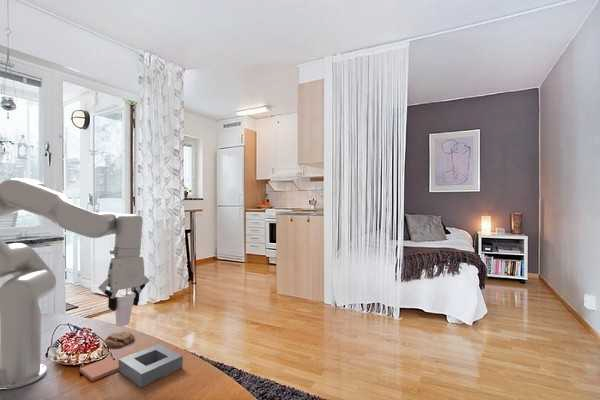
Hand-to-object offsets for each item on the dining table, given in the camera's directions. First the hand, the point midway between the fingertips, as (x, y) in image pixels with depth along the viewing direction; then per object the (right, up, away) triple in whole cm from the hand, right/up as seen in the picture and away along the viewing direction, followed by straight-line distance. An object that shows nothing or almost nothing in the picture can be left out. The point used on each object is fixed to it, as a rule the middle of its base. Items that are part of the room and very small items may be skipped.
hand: (123, 306), depth 104 cm
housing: (+8, -21, +1) cm, 23 cm away
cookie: (-13, -21, +20) cm, 31 cm away
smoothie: (0, -6, 0) cm, 6 cm away
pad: (-7, -21, 0) cm, 22 cm away
